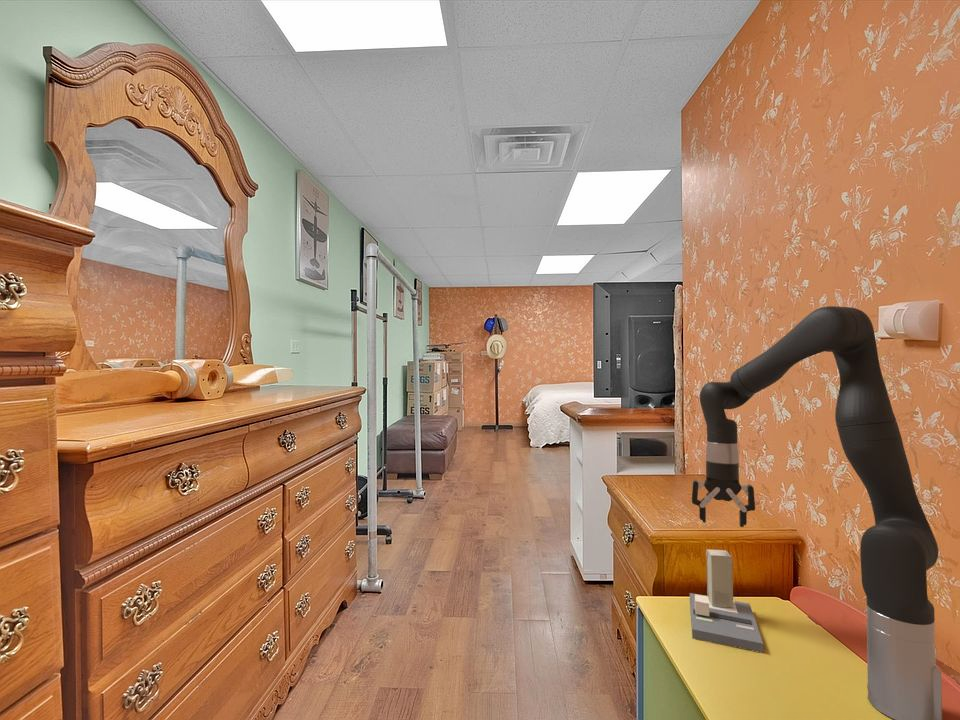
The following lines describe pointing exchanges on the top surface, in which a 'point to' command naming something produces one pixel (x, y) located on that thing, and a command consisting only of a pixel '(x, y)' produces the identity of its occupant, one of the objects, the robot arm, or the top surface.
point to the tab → (701, 605)
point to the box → (719, 578)
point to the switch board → (727, 625)
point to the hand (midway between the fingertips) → (722, 524)
